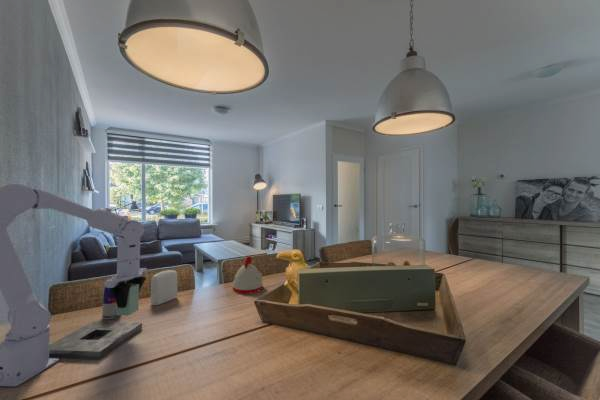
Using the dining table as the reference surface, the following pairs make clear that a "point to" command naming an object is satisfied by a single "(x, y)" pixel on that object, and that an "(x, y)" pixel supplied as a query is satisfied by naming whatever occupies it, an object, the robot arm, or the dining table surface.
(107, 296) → the energy drink
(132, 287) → the green rectangular block
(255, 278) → the kitchen timer
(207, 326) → the dining table surface
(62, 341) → the socket plate
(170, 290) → the photo printer
